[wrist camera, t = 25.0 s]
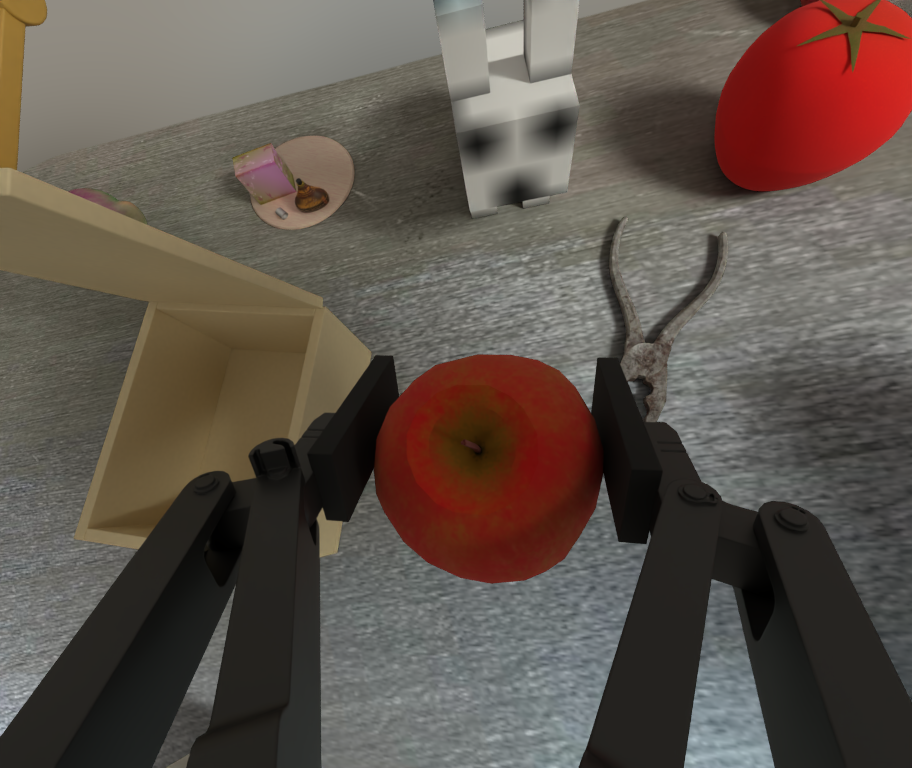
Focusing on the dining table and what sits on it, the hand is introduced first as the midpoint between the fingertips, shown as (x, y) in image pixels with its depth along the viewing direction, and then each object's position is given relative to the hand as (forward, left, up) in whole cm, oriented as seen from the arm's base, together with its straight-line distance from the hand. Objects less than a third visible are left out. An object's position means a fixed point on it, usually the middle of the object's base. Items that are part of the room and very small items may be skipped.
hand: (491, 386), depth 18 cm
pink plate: (+36, 0, -19) cm, 41 cm away
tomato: (+6, -34, -19) cm, 39 cm away
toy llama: (+21, -16, -19) cm, 32 cm away
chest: (+13, +16, -19) cm, 28 cm away
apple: (-3, +2, -4) cm, 5 cm away
